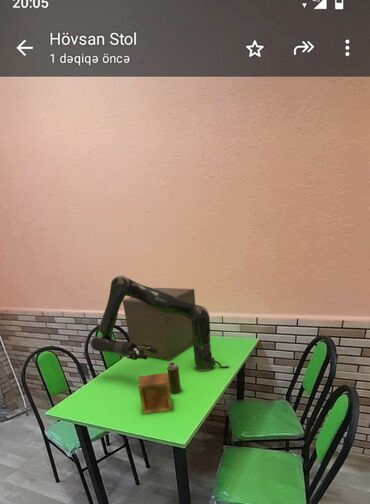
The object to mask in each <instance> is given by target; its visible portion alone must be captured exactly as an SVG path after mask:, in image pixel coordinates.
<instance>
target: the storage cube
mask: <svg viewBox="0 0 370 504" xmlns="http://www.w3.org/2000/svg"><path fill="white" fill-rule="evenodd" d="M154 289H157V290H160V291H162V292H165V293H167V294H170V295H172V296H174V297H177V298H179V299H181V300H183V301H185V302H188V303H192V304H195V305H196V295H195V289H194V288H176V287H175V288H174V287H173V288H172V287H154ZM122 305H123V311H124V317H125V322H126V328H127V333H128V339H129V342H132V343H135V344H136V346H140V347H141V346H142V344H145V345H151V346H152V348H154V349H157V353H151V352H147V353H146V354H144V355H147V358H151V359H159V360H164V361H171V360H173V359H174V358H176V357H177V356H178V357H179V355H181V354H182V353H184V352H185V351H187V350H188V349H190V348H191V347H194V346H193V334H192V322H191V319H189V318H187V317H185V316H182V315H179V314H171V313H165V312H162V311H159V310H157V309H154V308H152V307H150V306H148V305H147V304H145V303H143V302H142V301H140V300H138V299H136V298H133V297H127V298H124V299H123V301H122ZM146 351H149V350H146ZM144 352H145V350H144Z"/></svg>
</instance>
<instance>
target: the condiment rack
mask: <svg viewBox="0 0 370 504" xmlns="http://www.w3.org/2000/svg"><path fill="white" fill-rule="evenodd" d="M138 392H139V398H140V403H141V408H142V414H153V413H161V412H170V411H173V404H172V393H170V386H169V378H168V372H165V373H164V372H163V373H155V374H147V375H146V374H145V375H139V376H138Z"/></svg>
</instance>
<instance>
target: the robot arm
mask: <svg viewBox="0 0 370 504" xmlns="http://www.w3.org/2000/svg"><path fill="white" fill-rule="evenodd" d="M154 288H155V287H154ZM154 288H153V287H150V286H147V285H143V284H141V283H138V282H137V281H134V280H132V279H131V278H129V277H126V276H124V275H118V276H115V277H114V278H113V279H112V280H111V282H110V287H109V294H108V300H107V303H106V306H105V309H104V312H103V315H102V317H101V320H100V323H99V327H98V332H99V333H101V336H94V337H93V338H92V339H91V340H90V347H91V349H93V350H94V351H96V352H104V353H111V354H115V355H118V356H121V357H126V359H130V360H132V361H137V360H148V357H147V355H144V354H146V353H147V352H151V353H157V349H154V348H152V346H151V345H145V344H142V346H141V347H140V346H136V344H135V343H132V342H130V341H126V340H118V339H112V338H113V332H114V329H115V326H116V323H117V319H118V315H119V310H120V307H121V305H122V304H123V300H124V299H125V297H128V298H130V297H133V298H136V299H138V300H140V301H142V302H143V303H145V304H147V305H148V306H150V307H152V308H154V309H157V310H159V311H162V312H165V313H171V314H179V315H182V316H185V317H187V318H189V319H191V322H192V334H193V346H192V347H193V357H194V369H195V370H196V371H199V372H207V371H210V370H213V366H216V364H218V366H219V368H221V369H228V368H229V366H230V365H226V366H222V365H221V363H220V362H219V361H216V360H215V358H214V357H213V353H212V345H211V343H212V342H211V319H210V313H209V310H208V309H207V308H206V307H205V306H203V305H198V304H196V303H195V304H192V303H188V302H185V301H183V300H181V299H179V298H177V297H174V296H172V295H170V294H167V293H165V292H162V291H160V290H157V289H154ZM144 350H145V352H144ZM146 350H149V351H146Z"/></svg>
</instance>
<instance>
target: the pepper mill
mask: <svg viewBox="0 0 370 504" xmlns="http://www.w3.org/2000/svg"><path fill="white" fill-rule="evenodd" d="M166 371H167V373H168V378H169V386H170V394H171V395H172V394H173V395H177V394H179V393H181V392H182V388H181V387H182V386H181V378H180V377H181V376H180V368H179V366H178V363H177V362H173V361H172V362H169V363H167V368H166Z"/></svg>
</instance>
